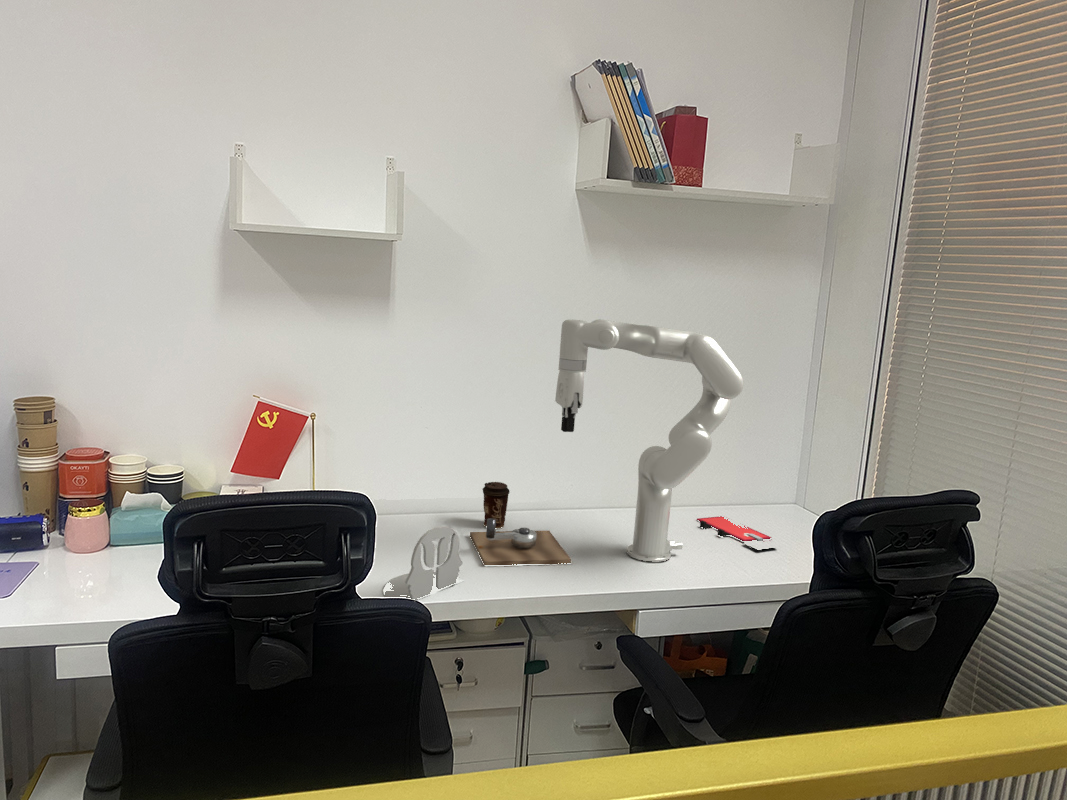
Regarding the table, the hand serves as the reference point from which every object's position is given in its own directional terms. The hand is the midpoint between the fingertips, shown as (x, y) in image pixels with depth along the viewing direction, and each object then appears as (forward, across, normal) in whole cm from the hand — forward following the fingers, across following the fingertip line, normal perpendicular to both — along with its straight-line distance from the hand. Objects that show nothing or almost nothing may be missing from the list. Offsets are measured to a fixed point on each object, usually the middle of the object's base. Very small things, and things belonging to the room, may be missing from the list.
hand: (567, 431), depth 220 cm
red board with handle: (+36, -9, +62) cm, 72 cm away
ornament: (+36, +18, -43) cm, 59 cm away
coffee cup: (+35, -24, -13) cm, 44 cm away
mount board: (+35, -2, -11) cm, 37 cm away
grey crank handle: (+33, -1, -14) cm, 35 cm away
